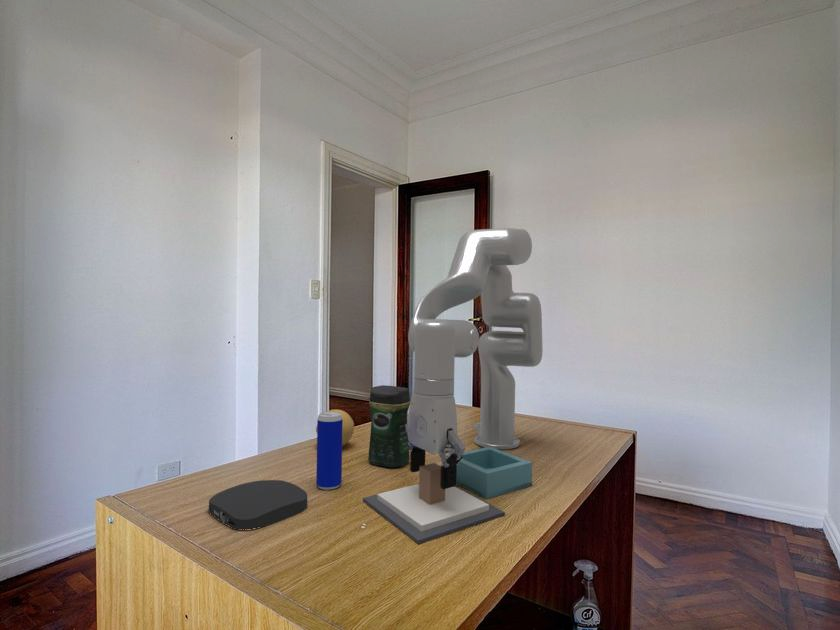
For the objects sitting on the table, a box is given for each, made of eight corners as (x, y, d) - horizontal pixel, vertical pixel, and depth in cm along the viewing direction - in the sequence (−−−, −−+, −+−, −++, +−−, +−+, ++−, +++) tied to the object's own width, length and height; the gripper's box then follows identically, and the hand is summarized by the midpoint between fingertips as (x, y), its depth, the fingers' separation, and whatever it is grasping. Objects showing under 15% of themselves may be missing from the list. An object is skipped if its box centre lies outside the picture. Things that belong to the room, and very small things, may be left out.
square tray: (446, 478, 99) (446, 455, 99) (489, 467, 107) (489, 446, 107) (486, 499, 89) (486, 473, 88) (531, 485, 96) (532, 462, 96)
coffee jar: (414, 461, 110) (415, 385, 110) (397, 471, 103) (398, 390, 103) (381, 454, 115) (382, 382, 115) (362, 463, 108) (364, 386, 108)
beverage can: (345, 483, 95) (347, 412, 95) (333, 492, 91) (334, 417, 90) (324, 479, 97) (325, 410, 97) (311, 488, 92) (312, 415, 92)
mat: (362, 501, 87) (362, 498, 87) (441, 481, 97) (441, 478, 97) (418, 544, 71) (418, 540, 71) (504, 515, 82) (504, 511, 82)
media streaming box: (315, 508, 84) (316, 492, 84) (241, 538, 73) (241, 519, 73) (272, 487, 93) (272, 473, 93) (200, 511, 82) (200, 494, 82)
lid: (377, 499, 86) (377, 462, 86) (439, 483, 95) (440, 450, 95) (421, 531, 74) (422, 489, 74) (489, 510, 82) (489, 472, 82)
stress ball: (346, 456, 116) (367, 426, 122) (322, 431, 112) (345, 401, 118) (325, 453, 123) (346, 425, 129) (302, 429, 119) (325, 401, 125)
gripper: (392, 382, 89) (391, 468, 89) (446, 396, 75) (444, 499, 75) (423, 379, 93) (422, 461, 93) (480, 392, 79) (478, 490, 79)
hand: (432, 478), depth 84 cm, fingers open, 9 cm apart
